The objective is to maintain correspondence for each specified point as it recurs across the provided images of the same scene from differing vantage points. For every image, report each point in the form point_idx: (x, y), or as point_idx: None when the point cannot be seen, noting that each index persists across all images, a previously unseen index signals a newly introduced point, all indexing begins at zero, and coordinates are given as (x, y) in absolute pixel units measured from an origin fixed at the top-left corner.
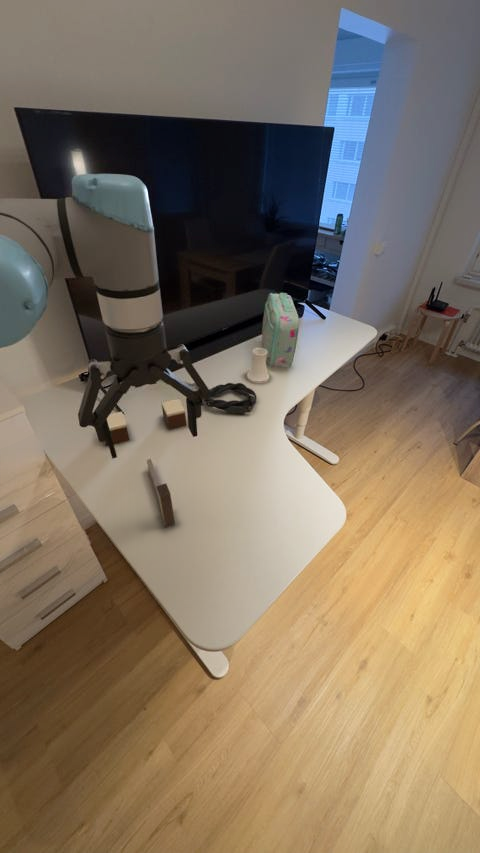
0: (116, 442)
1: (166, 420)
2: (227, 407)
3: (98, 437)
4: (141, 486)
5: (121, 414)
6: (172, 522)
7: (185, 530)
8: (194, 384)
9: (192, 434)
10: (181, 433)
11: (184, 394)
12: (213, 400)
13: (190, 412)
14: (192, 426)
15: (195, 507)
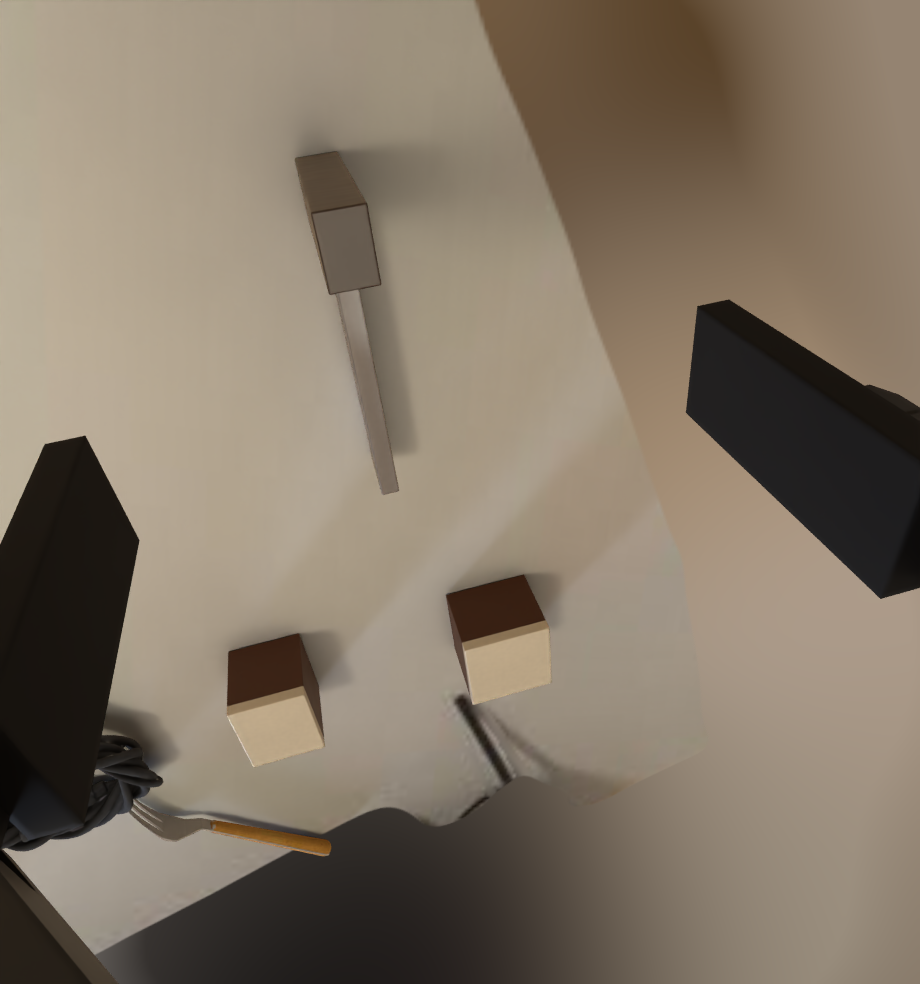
0: (491, 586)
1: (307, 672)
2: None
3: (916, 408)
4: (421, 387)
5: (476, 692)
6: (305, 160)
7: (245, 108)
8: (189, 828)
9: (91, 459)
10: (249, 617)
11: (12, 923)
12: (96, 766)
13: (41, 648)
14: (59, 508)
15: (193, 232)
